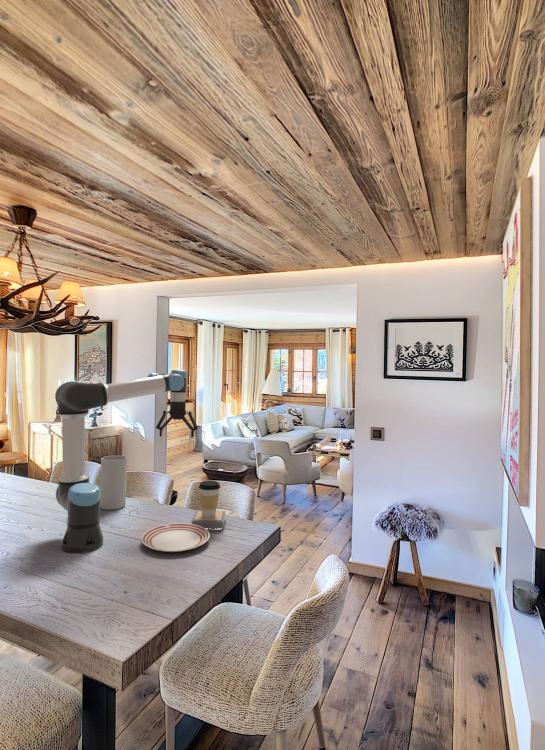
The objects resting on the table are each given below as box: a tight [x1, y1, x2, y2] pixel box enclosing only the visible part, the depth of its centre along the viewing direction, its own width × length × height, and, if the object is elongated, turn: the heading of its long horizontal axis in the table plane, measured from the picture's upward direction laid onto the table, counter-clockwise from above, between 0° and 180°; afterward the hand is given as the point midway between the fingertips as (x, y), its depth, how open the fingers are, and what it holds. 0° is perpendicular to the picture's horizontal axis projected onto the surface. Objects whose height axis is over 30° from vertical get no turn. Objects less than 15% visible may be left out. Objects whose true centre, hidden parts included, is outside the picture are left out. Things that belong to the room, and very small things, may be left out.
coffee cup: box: [198, 480, 221, 518], centre depth 192 cm, size 10×10×15 cm
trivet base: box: [191, 510, 226, 530], centre depth 192 cm, size 14×14×4 cm
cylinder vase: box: [99, 455, 128, 511], centre depth 213 cm, size 12×12×25 cm
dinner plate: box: [141, 522, 211, 553], centre depth 171 cm, size 28×27×3 cm
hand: (176, 443), depth 206 cm, fingers open, 13 cm apart
